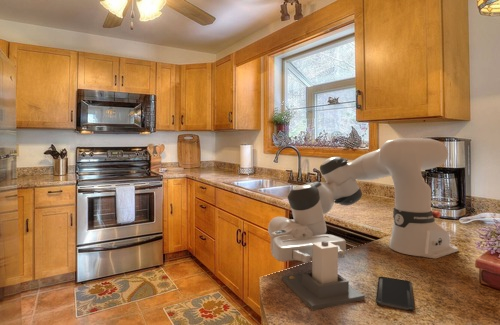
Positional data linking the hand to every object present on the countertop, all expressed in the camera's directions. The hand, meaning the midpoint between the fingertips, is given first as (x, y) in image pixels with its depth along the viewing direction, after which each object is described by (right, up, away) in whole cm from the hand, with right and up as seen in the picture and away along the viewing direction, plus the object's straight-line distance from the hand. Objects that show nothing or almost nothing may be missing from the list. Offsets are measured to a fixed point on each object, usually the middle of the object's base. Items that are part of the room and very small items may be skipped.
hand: (325, 257), depth 72 cm
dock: (-1, -9, +3) cm, 9 cm away
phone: (+17, -9, 0) cm, 20 cm away
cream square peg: (0, -8, +1) cm, 8 cm away
